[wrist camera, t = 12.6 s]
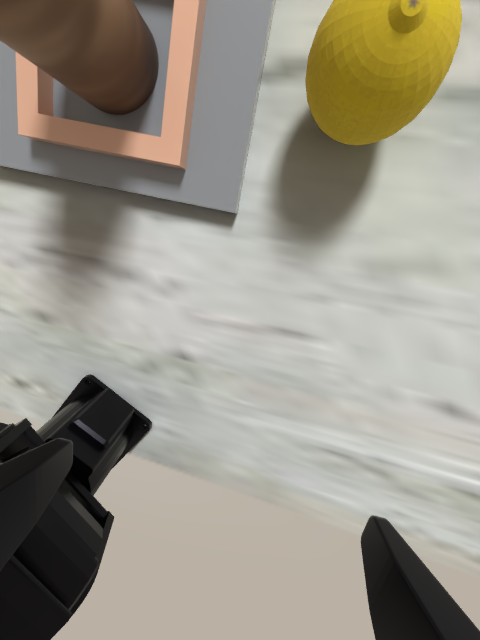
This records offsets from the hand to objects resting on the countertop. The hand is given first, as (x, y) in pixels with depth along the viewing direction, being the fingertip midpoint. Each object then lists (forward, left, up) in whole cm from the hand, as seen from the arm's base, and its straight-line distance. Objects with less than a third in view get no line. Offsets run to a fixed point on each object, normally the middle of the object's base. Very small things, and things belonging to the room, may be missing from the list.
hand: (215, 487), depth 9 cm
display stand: (+7, +16, -13) cm, 22 cm away
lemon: (+14, +5, -13) cm, 20 cm away
